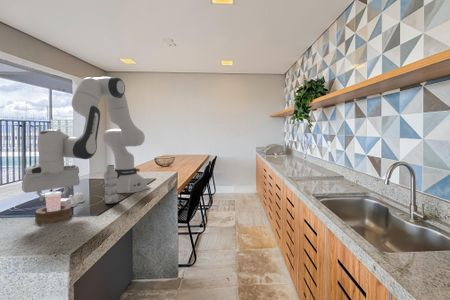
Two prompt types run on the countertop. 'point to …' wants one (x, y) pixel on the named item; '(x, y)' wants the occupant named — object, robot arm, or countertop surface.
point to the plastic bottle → (110, 185)
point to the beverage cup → (53, 200)
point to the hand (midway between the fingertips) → (53, 198)
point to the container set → (73, 199)
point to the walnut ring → (53, 214)
